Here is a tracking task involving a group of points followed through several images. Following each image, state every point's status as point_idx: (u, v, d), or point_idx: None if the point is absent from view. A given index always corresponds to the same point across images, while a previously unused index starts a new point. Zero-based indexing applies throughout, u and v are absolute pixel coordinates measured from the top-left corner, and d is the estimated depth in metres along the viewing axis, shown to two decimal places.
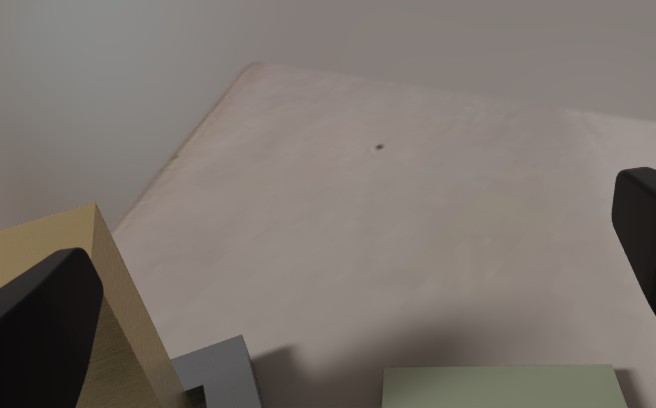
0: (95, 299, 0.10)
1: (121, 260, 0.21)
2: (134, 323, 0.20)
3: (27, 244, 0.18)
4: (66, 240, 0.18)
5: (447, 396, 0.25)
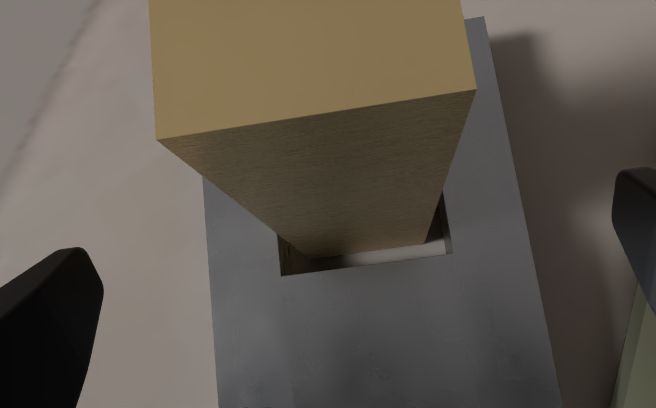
0: (95, 299, 0.10)
1: None
2: None
3: None
4: None
5: None
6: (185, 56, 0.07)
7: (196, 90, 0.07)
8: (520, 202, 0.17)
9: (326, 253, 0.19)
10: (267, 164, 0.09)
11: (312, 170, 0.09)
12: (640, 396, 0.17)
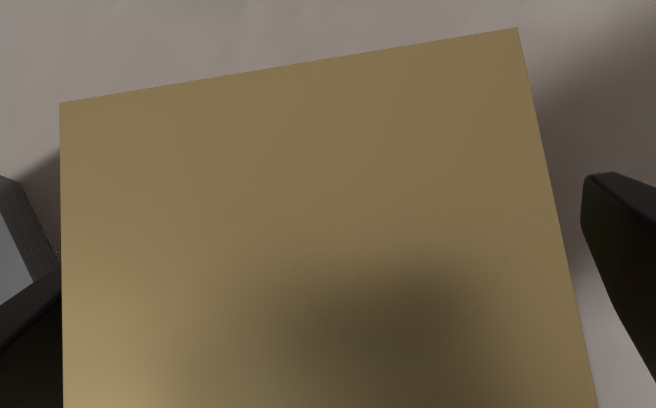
0: None
1: None
2: None
3: (287, 244, 0.04)
4: (455, 283, 0.04)
5: None
6: None
7: None
8: None
9: None
10: None
11: None
12: None
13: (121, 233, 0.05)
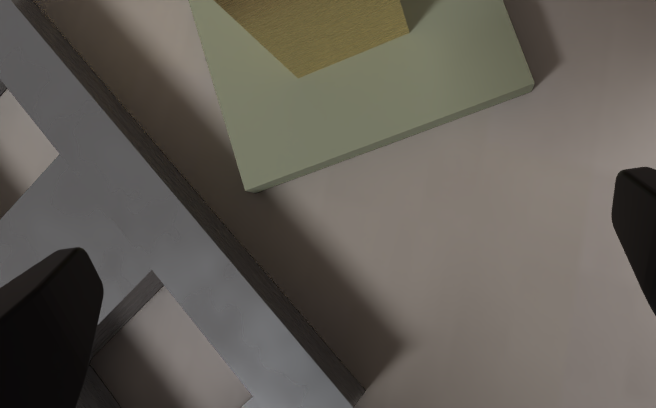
0: (95, 299, 0.10)
1: None
2: None
3: None
4: None
5: None
6: None
7: None
8: (80, 84, 0.20)
9: (309, 63, 0.18)
10: None
11: None
12: (246, 157, 0.19)
13: None
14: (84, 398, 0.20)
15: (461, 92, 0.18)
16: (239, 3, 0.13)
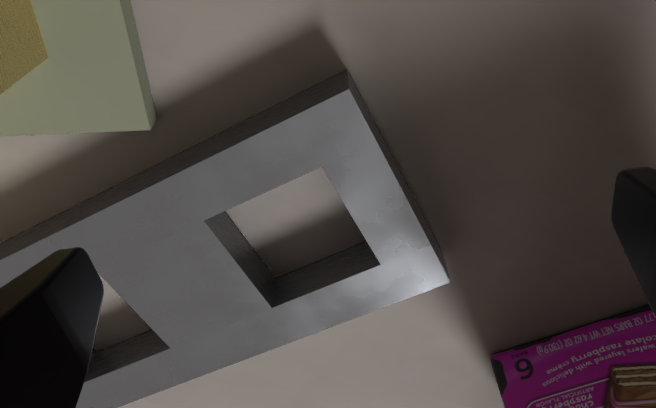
0: (95, 299, 0.10)
1: None
2: None
3: None
4: None
5: None
6: None
7: None
8: (34, 243, 0.23)
9: (32, 45, 0.19)
10: None
11: None
12: (120, 122, 0.21)
13: None
14: (298, 287, 0.26)
15: None
16: None
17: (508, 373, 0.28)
